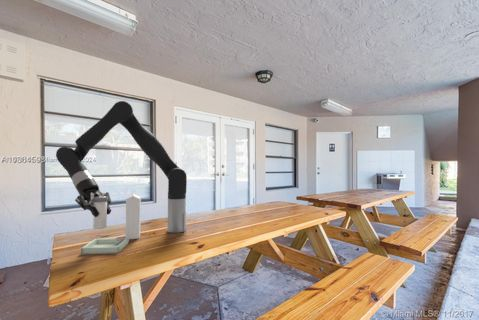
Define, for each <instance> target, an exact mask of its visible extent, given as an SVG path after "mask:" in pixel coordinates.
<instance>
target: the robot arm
mask: <svg viewBox="0 0 479 320" xmlns="http://www.w3.org/2000/svg"><path fill="white" fill-rule="evenodd" d="M118 124H120V125H121V126H122V127H124V129H125V130H126V131H127V132H128V133H129V135H130V136H131V137H132V139H133V140H134V141H135V143H136V144H137V145H138V146H139V148H140V149H141V150H142V151H143V152H144V154H145V155H146V156H147V157H148V158H149V159H150V160H151V161H152V162H153V163H154V164H155V165H157V166H158V168H160V170H161V171H162V172H163V173H164V175H165V177H166V178H167V180H168V188H167V189H168V190H167V232H168V233H173V234H174V233H175V234H177V233H178V234H179V233H183V232H186V229H187V211H186V199H187V197H186V196H187V195H186V194H187V183H188V182H187V177H188V176H187V173H186V171H185V170H183V169H182V168H180V167H179V166H178V165H177V164H176V163H175V162H174V161H173V160H172V159H171V157H170V156H169V154H168V153H167V150H166V149H165V148H164V146H163V144H162V143H161V142H160V141H159V139H157V137H156V136H155V135H154V134H153V133H152V132H151V131H150V130H149V129H147V128H146V127H144V126H143V125H142V123H141V122H140V121H139V119H138V118H137V116H135V114H134V109H133V106H132V105H131V104H130V103H129V102H127V101H125V100H120V101H117V102H115V103H114V104H113V106H112V107H111V108H110V109H109V110H108V111H107V112H106V113H105V114H104V116H103V117H102V118H101V119H100V120H98V121H97V122H96V123H95V124H93V126H91V127H90V128H89V129H87V130H86V131H85V132H83V134H82V135H80V136H79V137H78V138H77V139H76V140H75V145H76V147H75V149H74V148H71V147H70V146H61V147H59V148H58V149H57V150H56V153H55V158H56V160H57V161H58V162H59V164H60V165H61V166H62V168H63V169H64V170H66V172H67V173H68V176H69V178H70V179H71V181H72V184H73V185H74V187H75V190H76V191H77V192H78V195H77V197H76V198H75V202H76V203H77V204H78V205H79V207H81V209H83V210H84V211H86V210H88V211H90V213H91V214H92V216H93V217H94V216H95V217H97V216H98V215H99V212H98V210H97V209H96V207H94V202H93V198H94V197H100V196H106V197H108V201H107V216H108V215H110V214H111V212H112V209H111V207H110V205H111V203H112V200H111V196H110V193H109V192H105V193H104V192H102V191H101V190H100V187H99V185H98V183H97V182H96V180H95V179H94V177H93V175H92V174H91V173H90V171H89V170H88V169H87V167H86V165H85V164H84V163H83V160H84V159H85V157H86V156H88V154H89V152H90V150H91V149H93V148H94V147H95V146H97V145H98V144H99V142H101V141H102V140H103V139H104V138H105V137H106V135H107V134H108V133H109V132H110V131H111V130H112V129H114V127H115V126H116V125H118Z"/></svg>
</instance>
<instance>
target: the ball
mask: <svg viewBox="0 0 479 320" xmlns="http://www.w3.org/2000/svg"><path fill="white" fill-rule="evenodd" d="M116 238H117V239H116V240H115V243H116V244H117V245H119V244H120V243H121V242H122V241H123V239H122V238H123V237H121V236H120V237H116Z"/></svg>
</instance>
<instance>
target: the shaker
mask: <svg viewBox="0 0 479 320" xmlns="http://www.w3.org/2000/svg"><path fill="white" fill-rule="evenodd" d="M107 201H108V197H106V196H100V197H94V198H93V202H94V207H96V209H97V210H98V212H99V215H98V216H97V217H95V216H93V221H92V222H93V227H92V229H94V230H101V229H105V228H107V227H108V225H107V223H108V222H107V220H108V218H107V217H108V215H107Z"/></svg>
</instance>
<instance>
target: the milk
mask: <svg viewBox="0 0 479 320" xmlns="http://www.w3.org/2000/svg"><path fill="white" fill-rule="evenodd" d="M141 205H142V197H141V196H139V195H137V194H135V191H132V195H129V196H128V197H127V198H126V199H125V238H129V240H135V239H136V240H137V239H140V238H141V225H142V224H141V218H142V217H141V216H142V215H141V212H142V211H141V209H142V208H141V207H142V206H141Z"/></svg>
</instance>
